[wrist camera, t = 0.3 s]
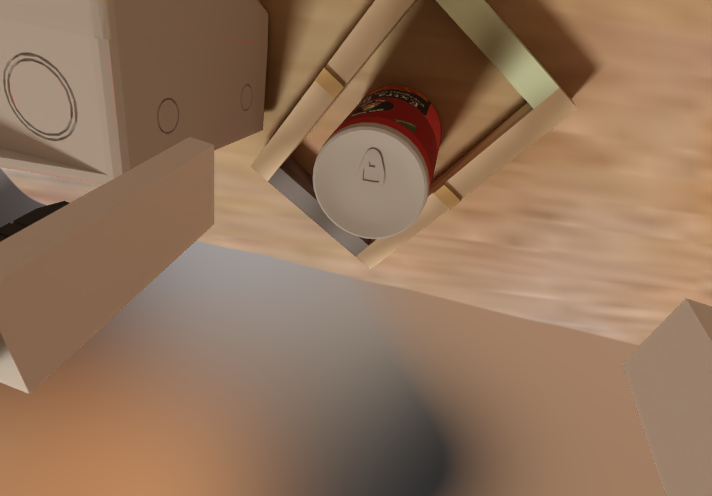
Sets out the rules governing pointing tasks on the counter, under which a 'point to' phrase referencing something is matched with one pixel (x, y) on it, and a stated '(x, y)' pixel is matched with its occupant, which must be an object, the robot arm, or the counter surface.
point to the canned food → (379, 163)
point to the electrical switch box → (125, 81)
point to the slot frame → (465, 175)
